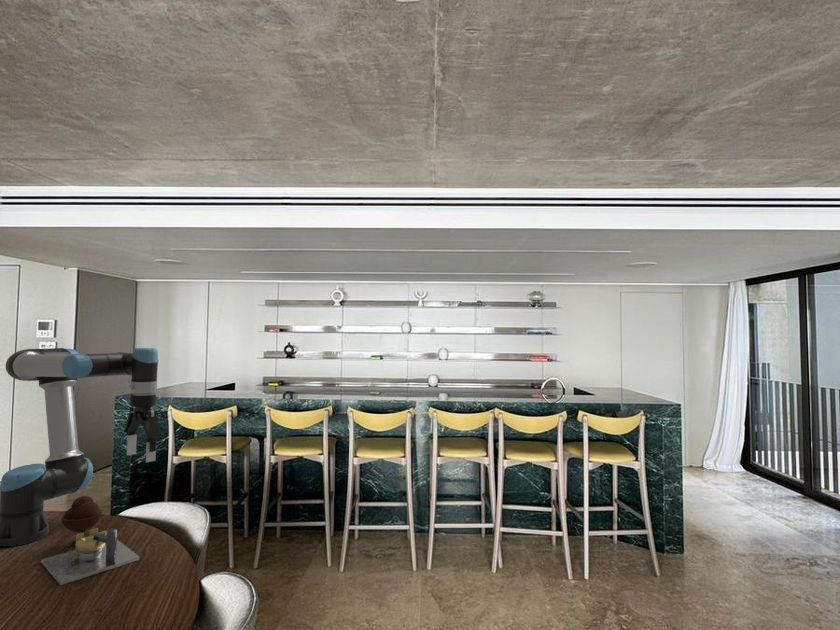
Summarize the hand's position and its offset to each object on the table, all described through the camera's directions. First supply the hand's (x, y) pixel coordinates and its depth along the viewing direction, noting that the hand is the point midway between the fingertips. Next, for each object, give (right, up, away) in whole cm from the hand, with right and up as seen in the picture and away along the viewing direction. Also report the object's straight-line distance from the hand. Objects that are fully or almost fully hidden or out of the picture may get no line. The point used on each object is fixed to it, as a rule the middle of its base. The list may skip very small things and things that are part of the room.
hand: (140, 458), depth 160 cm
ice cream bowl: (-19, -28, -1) cm, 34 cm away
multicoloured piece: (-4, -26, -15) cm, 31 cm away
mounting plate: (-7, -28, -13) cm, 32 cm away
